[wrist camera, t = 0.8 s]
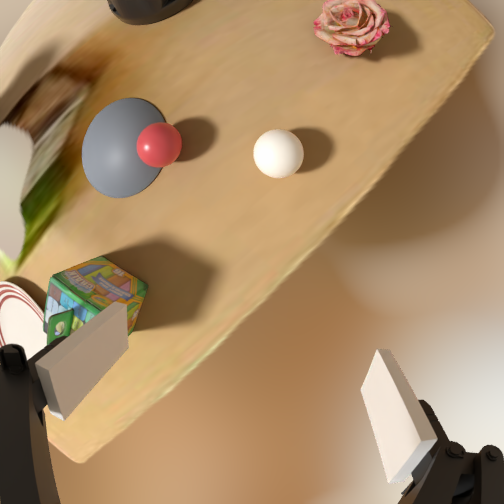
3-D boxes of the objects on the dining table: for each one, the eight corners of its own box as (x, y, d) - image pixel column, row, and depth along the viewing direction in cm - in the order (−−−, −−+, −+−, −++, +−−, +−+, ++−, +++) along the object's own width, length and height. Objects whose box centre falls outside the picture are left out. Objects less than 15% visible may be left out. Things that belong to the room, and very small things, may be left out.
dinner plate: (-18, 289, 45) (-28, 293, 42) (41, 264, 41) (29, 269, 38) (28, 392, 50) (21, 399, 47) (101, 398, 46) (93, 408, 43)
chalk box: (132, 333, 41) (80, 387, 27) (86, 302, 41) (25, 342, 27) (151, 284, 39) (92, 331, 25) (100, 252, 39) (30, 282, 24)
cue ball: (258, 131, 33) (254, 121, 28) (304, 137, 33) (308, 128, 28) (253, 176, 35) (248, 173, 29) (299, 181, 34) (302, 180, 29)
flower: (381, 6, 26) (357, -25, 20) (413, 54, 26) (395, 23, 20) (327, 33, 32) (295, 9, 27) (351, 81, 32) (321, 59, 27)
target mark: (90, 102, 34) (89, 102, 34) (175, 96, 33) (174, 95, 33) (79, 195, 37) (78, 195, 37) (162, 201, 36) (161, 201, 36)
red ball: (151, 126, 34) (131, 118, 29) (190, 127, 34) (175, 117, 29) (146, 167, 36) (125, 165, 30) (185, 169, 35) (169, 167, 30)
